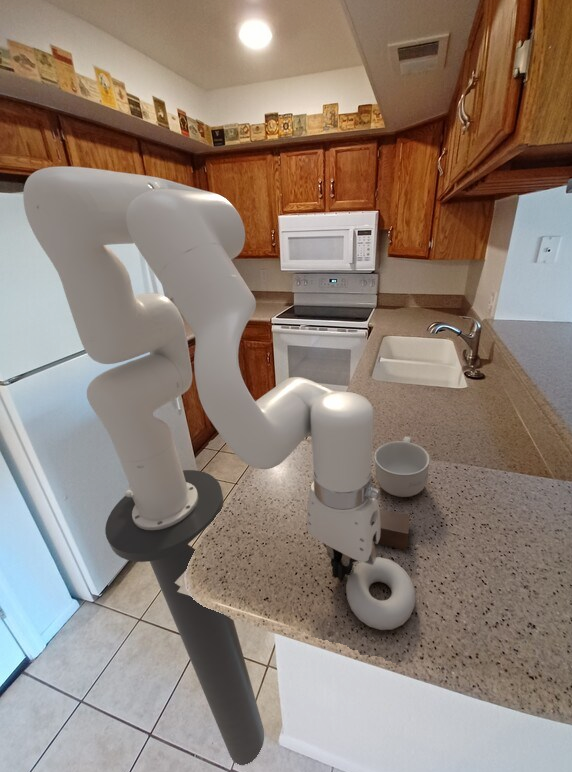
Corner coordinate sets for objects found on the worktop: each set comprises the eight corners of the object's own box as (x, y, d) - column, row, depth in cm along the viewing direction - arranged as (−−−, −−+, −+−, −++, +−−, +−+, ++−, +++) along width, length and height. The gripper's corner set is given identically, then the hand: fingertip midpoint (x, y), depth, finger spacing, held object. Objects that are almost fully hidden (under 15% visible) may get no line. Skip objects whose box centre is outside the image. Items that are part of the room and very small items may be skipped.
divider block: (371, 542, 57) (372, 526, 55) (375, 524, 60) (375, 508, 59) (406, 550, 55) (408, 533, 54) (408, 531, 59) (409, 515, 57)
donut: (420, 581, 51) (359, 557, 55) (422, 567, 49) (360, 542, 53) (405, 650, 43) (335, 615, 46) (407, 635, 41) (335, 600, 45)
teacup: (415, 513, 62) (419, 481, 59) (364, 492, 68) (365, 461, 64) (436, 471, 73) (440, 441, 69) (391, 455, 78) (392, 427, 75)
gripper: (406, 485, 42) (395, 575, 51) (310, 449, 50) (315, 533, 58) (384, 526, 37) (376, 620, 45) (279, 479, 44) (289, 568, 52)
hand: (342, 571), depth 51 cm, fingers closed
